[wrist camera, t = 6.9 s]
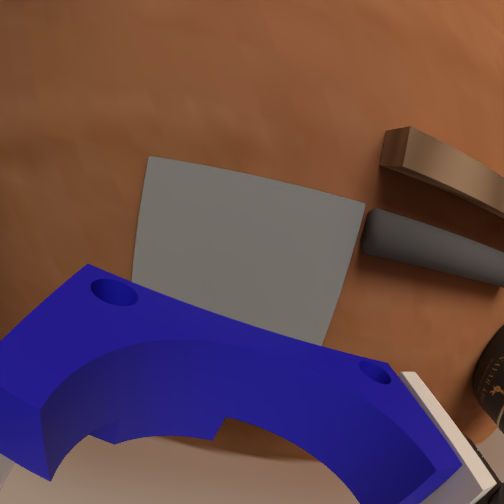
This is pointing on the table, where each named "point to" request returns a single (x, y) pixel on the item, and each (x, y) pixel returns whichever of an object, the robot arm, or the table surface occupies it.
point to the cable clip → (205, 388)
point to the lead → (430, 247)
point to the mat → (245, 246)
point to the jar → (491, 379)
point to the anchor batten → (443, 168)
